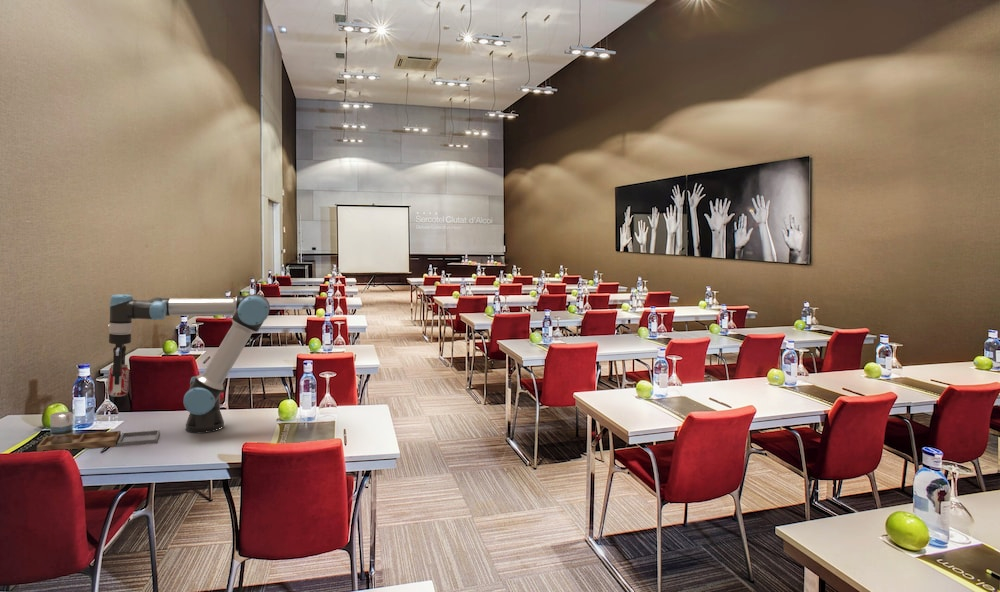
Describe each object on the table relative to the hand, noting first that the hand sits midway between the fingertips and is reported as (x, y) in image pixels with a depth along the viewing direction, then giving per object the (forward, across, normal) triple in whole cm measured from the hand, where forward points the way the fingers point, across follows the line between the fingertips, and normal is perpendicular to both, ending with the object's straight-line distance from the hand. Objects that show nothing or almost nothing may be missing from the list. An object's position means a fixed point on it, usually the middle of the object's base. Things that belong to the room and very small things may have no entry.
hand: (118, 390), depth 246 cm
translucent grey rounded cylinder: (+22, 0, -18) cm, 28 cm away
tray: (+21, 0, +8) cm, 22 cm away
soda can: (+2, 0, 0) cm, 2 cm away
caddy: (+21, 0, -12) cm, 25 cm away
